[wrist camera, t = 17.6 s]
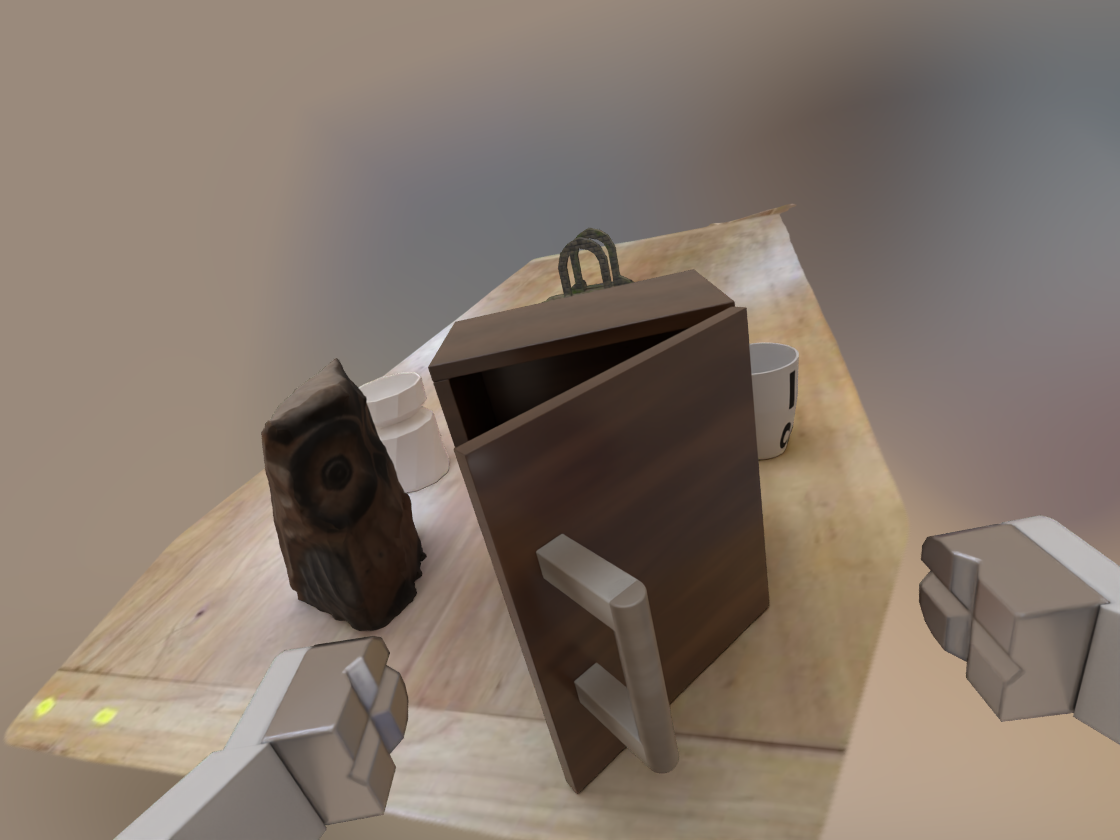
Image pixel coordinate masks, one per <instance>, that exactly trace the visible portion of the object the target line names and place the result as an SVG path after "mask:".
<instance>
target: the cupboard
mask: <svg viewBox="0 0 1120 840" xmlns="http://www.w3.org/2000/svg"><path fill="white" fill-rule="evenodd" d="M730 307H735V302H734V301H733V300H732V299H731V298H729V297H728V296H727V295H726V294H724V293H723V292H722V291H721V290H719V289H718V288H717V287H716V286H714V285H713V284H712V283H710V282H709V281H708V280H707V279H705V278H704V277H703V276H702V275H700V274H699V273H698V272H697V271H695V270H694V269H693V270H688V271H684V272H679V273H675V274H670V275H666V276H661V277H656V278H652V279H647V280H643V281H638V282H634V283H629V284H625V285H620V286H616V287H611V288H607V289H602V290H598V291H593V292H589V293H584V294H580V295H575V296H570V297H566V298H561V299H557V300H552V301H548V302H543V303H539V304H534V305H530V306H525V307H521V308H516V309H512V310H507V311H503V312H498V313H493V314H489V315H484V316H480V317H475V318H471V319H466V320H462V321H457V322H455V323H454V325H453V326H452V328H451V330H450V331H449V333H448V335H447V336H446V338H445V340H444V341H443V343H442V345H441V346H440V348H439V350H438V351H437V353H436V355H435V357H434V358H433V360H432V362H431V363H430V365H429V367H428V369H429V372H430V375H431V378H432V380H433V382H434V386H435V389H436V392H437V395H438V398H439V401H440V404H441V407H442V410H443V413H444V416H445V419H446V422H447V425H448V428H449V431H450V434H451V437H452V440H453V443H454V446H455V448H456V447H458V446H460V445H462V444H464V443H466V442H468V441H470V440H472V439H474V438H476V437H478V436H480V435H482V434H484V433H486V432H488V431H489V430H491V429H493V428H495V427H497V426H499V425H501V424H503V423H505V422H507V421H509V420H511V419H513V418H515V417H517V416H519V415H521V414H523V413H525V412H527V411H529V410H531V409H532V408H534V407H536V406H538V405H540V404H542V403H544V402H546V401H548V400H550V399H552V398H554V397H556V396H558V395H560V394H562V393H564V392H566V391H568V390H570V389H572V388H573V387H575V386H577V385H579V384H581V383H583V382H585V381H587V380H589V379H591V378H593V377H595V376H597V375H599V374H601V373H603V372H605V371H607V370H609V369H611V368H613V367H615V366H616V365H618V364H620V363H622V362H624V361H626V360H628V359H630V358H632V357H634V356H636V355H638V354H640V353H642V352H644V351H646V350H648V349H650V348H652V347H654V346H656V345H657V344H659V343H661V342H663V341H665V340H667V339H669V338H671V337H673V336H675V335H677V334H679V333H681V332H683V331H685V330H687V329H689V328H691V327H693V326H695V325H697V324H699V323H700V322H702V321H704V320H706V319H708V318H710V317H712V316H714V315H716V314H718V313H720V312H722V311H724V310H726V309H728V308H730Z"/></svg>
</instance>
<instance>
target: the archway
mask: <svg viewBox="0 0 1120 840" xmlns="http://www.w3.org/2000/svg"><path fill="white" fill-rule="evenodd" d="M589 238H591V239H597V240H599V241H601V242H602V243H604V245H605V246H606V248H607V250H608V253H609V259H610V264H611V269H612V275H613V282H611V277H610V271H609V265H608V259H607V256H606V255H605V253H604V251H603V250H602V248H601V246H600V245H599V244H597V243H596V242H594V241H593V240H591V239H589ZM579 248H580V249H585V250H589V251H591V252H592V253H594V254H595V256H596V257H597V259H598V261H599V264H600V269H601V274H602V279H603V283H601V284H595V285H589V286H587V284H586V282H585V280H583V279H582V274H581V268H580V263H579V258H578V252H579ZM569 256H570V259H571V264H572V268H573V273H574V278H575V283H576V284H575V285H574V286H572V287H571V284H570V279H569V274H568V269H567V262H568V257H569ZM558 270H559V274H560V279H561V283H562V288H563V292H564V294H561V295H555V296H552V297H549V298H548V299H547V300H546V301H544V302H548V301H552V300H557V299H561V298H566V297H570V296H575V295H580V294H584V293H589V292H593V291H598V290H602V289H607V288H611V287H616V286H620V285H625V284H629V283H634V282H633V281H632V280H630V279H628V278H626V277H624V276H621V275H620V272H619V265H618V259H617V253H616V247H615V245H614V243H613V242H612V240H611V238H610V237H609V235H608V234H606V233H604V232H603V231H601V230H598V229H593V228H588V229H586V230H584V231H583V232H581V233H580V234H579V235H578V236H577V237H576V238H575V239H574V240H573V241H571V242H570V243H568V244H567V245H566V246H565V248H564V249H563V250H562V252H561V253H560V258H559V265H558ZM542 303H543V302H542Z"/></svg>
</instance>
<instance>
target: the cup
mask: <svg viewBox="0 0 1120 840" xmlns="http://www.w3.org/2000/svg"><path fill="white" fill-rule="evenodd" d="M749 347H750V360H751V372H752V385H753V398H754V411H755V424H756V437H757V450H758V459H769V458H773V457H776V456H778V455H780V454H782V453H783V452H784V451H785V449H786V446H787V443H788V440H789V437H790V434H791V431H792V428H793V423H794V416H795V409H796V402H797V396H798V359H799V354H798V351H797V350H796V349H794V348H793V347H791V346H788V345H784V344H778V343H753V344H749Z"/></svg>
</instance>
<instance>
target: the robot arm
mask: <svg viewBox="0 0 1120 840" xmlns="http://www.w3.org/2000/svg"><path fill="white" fill-rule="evenodd" d="M921 560H922V561H923V562H924V563H925V564H926V566H927V567H928V568H929V569H930V570H931V571H930V572H929V573H928V574H927V575H926V577H925V578H924V579H923V580H922V581H921V582H920V584H919V603H920V606H921V610H922V613H923V616H924V620H925V622H926V624H927V626H928V628H929V629H930V631H931V633H932V634H933V636H934V638H935V639H936V640H937V641H938V643H939V644H940V645H941V647H942V648H943V649H944V650H945V651H947V652H948V653H951V654H952V655H954V656H956V657H958V658H960V659H962V660H964V661H966V662H967V667H966V678H967V680H968V681H969V682H970V683H971V684H972V686H973V687H974V688H975V689H976V691H977V692H978V693H979V694H980V696H981V697H982V698H983V699H984V701H985V702H986V703H987V704H988V706H989V707H990V708H991V709H992V711H993V712H994V713H995V714H996V716H997V717H998V718H999V719H1000V721H1001V722H1003V721H1011V720H1018V719H1028V718H1036V717H1044V716H1052V715H1060V714H1068V713H1074V716H1073V717H1075V718H1076V719H1078V720H1080V721H1081V722H1083V723H1085V724H1086V725H1088V726H1090V727H1091V728H1093V729H1095V730H1096V731H1098V732H1100V733H1101V734H1103V735H1105V736H1106V737H1108V738H1109V739H1111V740H1113V741H1114V742H1116V743H1118V744H1120V566H1118V565H1117V564H1116V563H1114V562H1113V561H1112V560H1110V559H1108V558H1107V557H1106V556H1104V555H1103V554H1102V553H1100V552H1099V551H1098V550H1096V549H1095V548H1093V547H1092V546H1091V545H1089V544H1088V543H1086V542H1085V541H1084V540H1082V539H1081V538H1079V537H1078V536H1076V535H1075V534H1074V533H1072V532H1071V531H1070V530H1068V529H1067V528H1065V527H1064V526H1062V525H1061V524H1059V523H1058V522H1057V521H1056V520H1054V519H1051V518H1049V517H1045V516H1042V515H1039V516H1034V517H1028V518H1023V519H1018V520H1014V521H1008V522H1003V523H1001V524H994V525H989V526H984V527H978V528H973V529H968V530H962V531H957V532H951V533H946V534H941V535H935V536H930V537H927V538H926V540H925V542H924V543H923V545H922V554H921ZM389 654H390V652H389V650H388V648H387V646H386V645H385V643H384V641H383V639H382V638H381V637H376V636H371V637H364V638H357V639H351V640H344V641H338V642H331V643H325V644H318V645H314V646H311V647H304V648H297V649H290V650H284V651H283V652H282V653H280V654H279V655H278V656H276V657H275V658H274V660H273V662H272V664H271V665H270V667H269V669H268V671H267V672H266V674H265V676H264V678H263V680H262V681H261V683H260V685H259V687H258V688H257V690H256V692H255V694H254V696H253V697H252V699H251V701H250V703H249V704H248V706H247V708H246V710H245V712H244V713H243V715H242V717H241V719H240V720H239V722H238V724H237V726H236V728H235V729H234V731H233V733H232V735H231V736H230V738H229V740H228V742H227V744H226V745H225V747H224V749H223V750H221V751H216V752H212V753H211V754H210V755H209V756H207V757H206V758H205V759H204V760H203V761H202V762H201V763H199V764H198V765H197V766H196V767H195V768H194V769H193V770H192V771H190V772H189V773H188V774H187V775H186V776H185V777H184V778H182V779H181V780H180V781H179V782H178V783H177V784H176V785H175V786H173V787H172V788H171V789H170V790H169V791H168V792H167V793H166V794H165V795H163V796H162V797H161V798H160V799H159V800H158V801H156V802H155V803H154V804H153V805H152V806H151V807H150V808H149V809H147V810H146V811H145V812H144V813H143V814H142V815H140V816H139V817H138V818H137V819H136V820H135V821H134V822H133V823H131V824H130V825H129V826H128V827H127V828H126V829H125V830H123V831H122V832H121V833H120V834H119V835H118V836H117V837H116V838H115V839H113V840H319V838H320V837H321V836H322V835H323V833H324V832H325V831H326V826H325V825H330V824H335V823H341V822H346V821H352V820H357V819H363V818H368V817H373V816H379V815H384V811H385V807H386V804H387V800H388V796H389V792H390V788H391V784H392V781H393V777H394V773H395V769H396V766H395V764H394V762H393V760H392V758H391V756H390V753H391V752H392V751H393V750H394V749H395V747H396V746H397V745H398V744H399V743H400V742H401V740H402V739H403V738H404V734H405V730H406V726H407V721H408V695H407V691H406V686H405V683H404V681H403V679H402V677H401V675H400V673H399V672H397V671H396V670H394V669H392V668H391V667H389V666H387V665H386V664H387V660H388V657H389Z"/></svg>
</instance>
